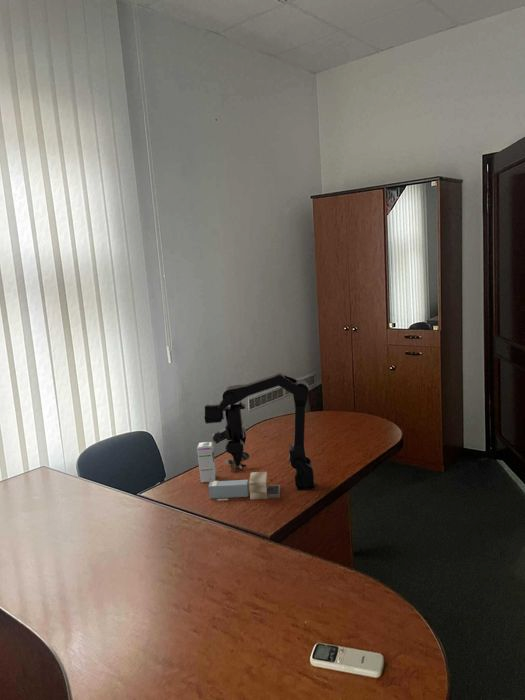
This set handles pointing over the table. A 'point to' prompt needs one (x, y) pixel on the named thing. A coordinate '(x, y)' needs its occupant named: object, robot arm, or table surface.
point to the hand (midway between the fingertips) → (239, 461)
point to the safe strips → (221, 499)
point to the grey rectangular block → (228, 489)
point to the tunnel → (258, 485)
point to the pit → (273, 491)
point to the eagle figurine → (232, 462)
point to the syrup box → (206, 462)
